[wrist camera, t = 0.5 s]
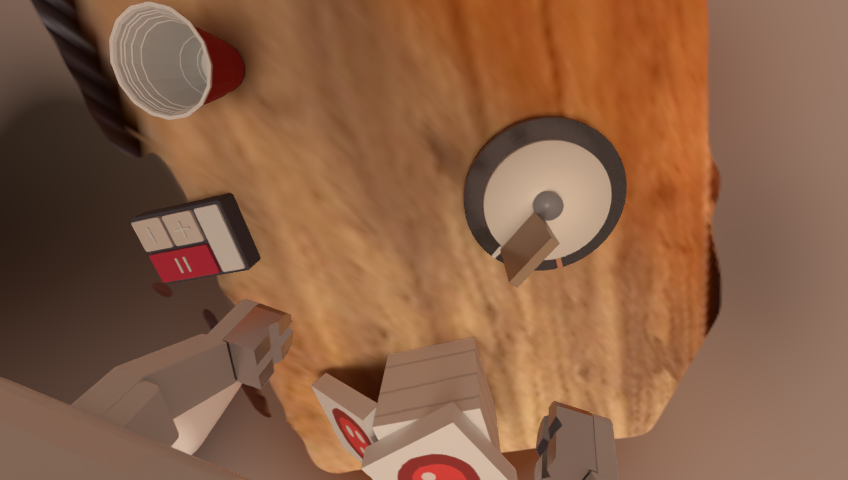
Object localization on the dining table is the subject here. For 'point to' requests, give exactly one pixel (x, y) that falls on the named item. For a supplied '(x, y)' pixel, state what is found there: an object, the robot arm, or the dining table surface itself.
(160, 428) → the robot arm
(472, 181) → the dial housing
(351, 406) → the pizza boxes
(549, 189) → the dial
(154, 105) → the plastic cup
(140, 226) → the calculator
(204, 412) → the bottle
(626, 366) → the dining table surface
